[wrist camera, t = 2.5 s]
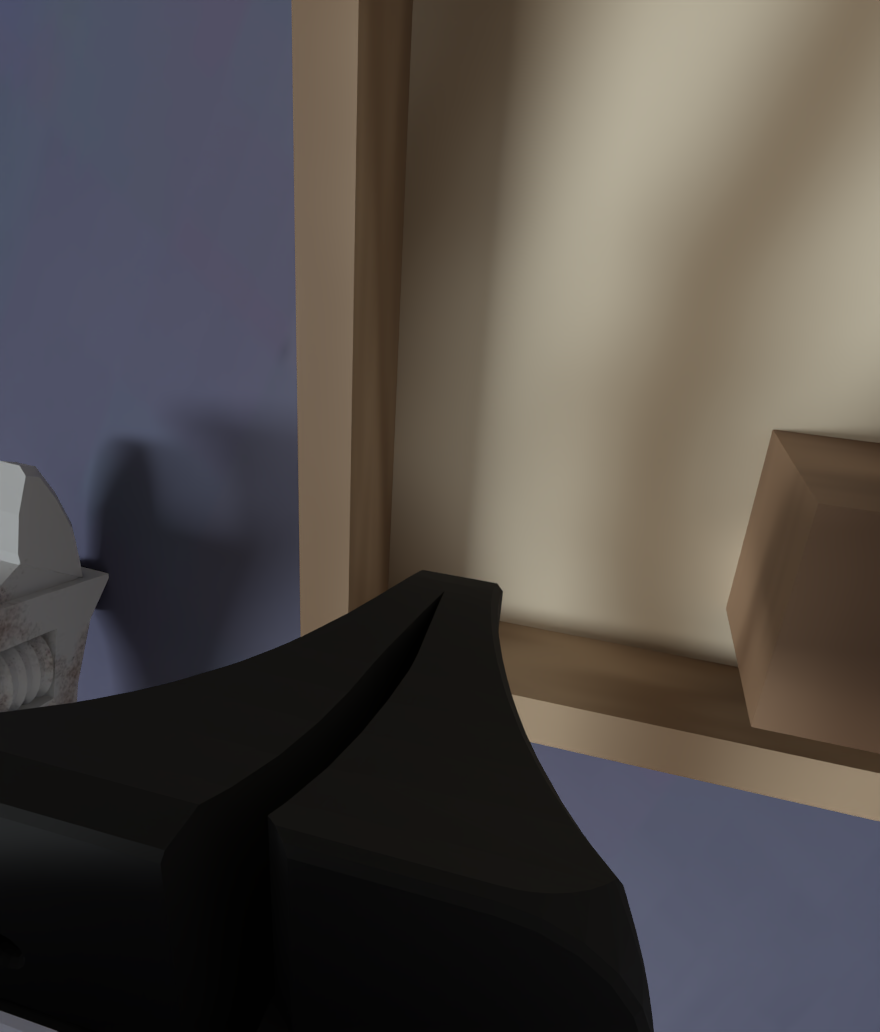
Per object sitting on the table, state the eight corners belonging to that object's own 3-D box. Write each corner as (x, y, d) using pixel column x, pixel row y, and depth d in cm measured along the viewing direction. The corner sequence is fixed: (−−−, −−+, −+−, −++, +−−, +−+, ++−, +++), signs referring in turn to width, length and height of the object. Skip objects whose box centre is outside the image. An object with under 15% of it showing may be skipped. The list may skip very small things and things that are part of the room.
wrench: (153, 948, 36) (30, 392, 21) (185, 959, 36) (84, 403, 21) (36, 1139, 30) (-270, 525, 14) (75, 1155, 29) (-197, 545, 14)
